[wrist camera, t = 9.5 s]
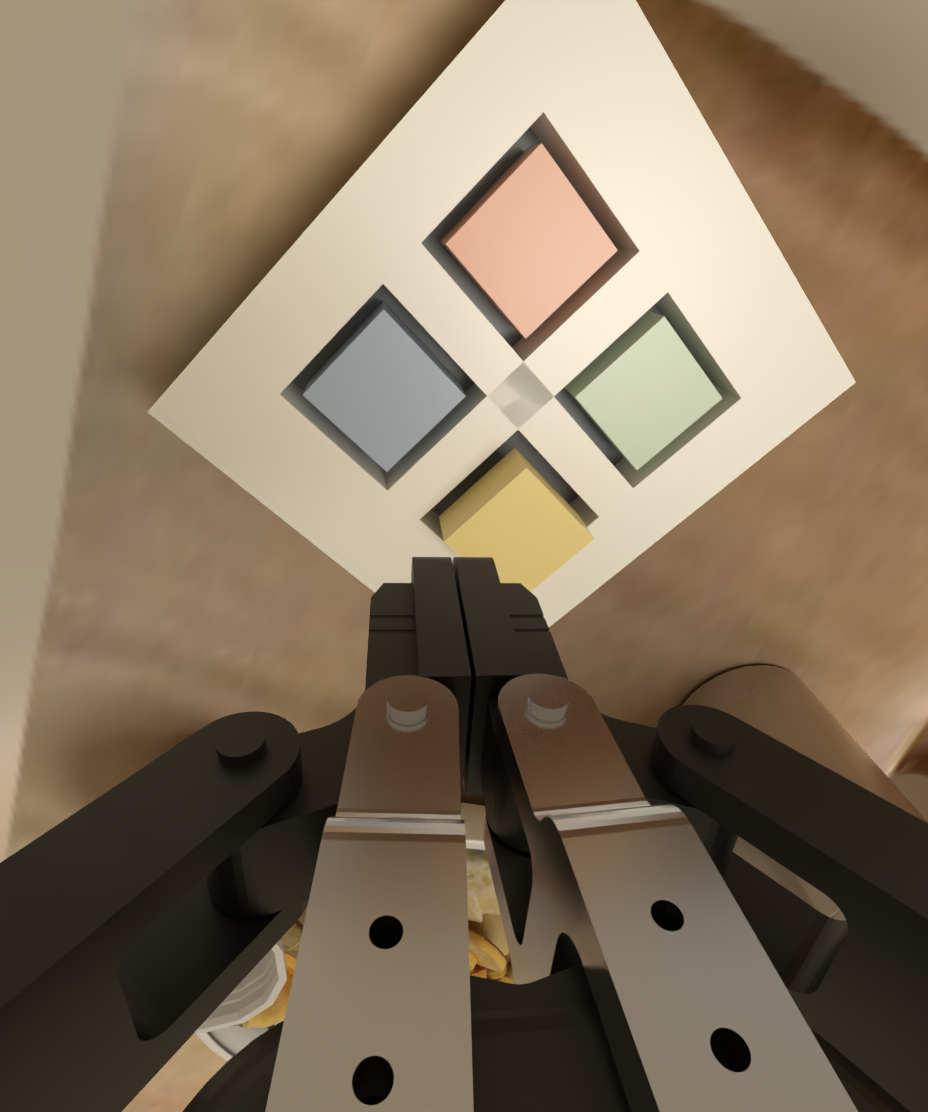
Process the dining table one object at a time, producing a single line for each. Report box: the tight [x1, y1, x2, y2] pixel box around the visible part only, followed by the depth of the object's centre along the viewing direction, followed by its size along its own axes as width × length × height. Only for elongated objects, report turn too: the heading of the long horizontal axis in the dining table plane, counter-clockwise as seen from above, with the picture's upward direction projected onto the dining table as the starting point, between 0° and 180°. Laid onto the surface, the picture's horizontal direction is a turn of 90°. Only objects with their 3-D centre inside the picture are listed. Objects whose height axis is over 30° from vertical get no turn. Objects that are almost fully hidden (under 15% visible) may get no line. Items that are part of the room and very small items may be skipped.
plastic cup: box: [194, 939, 287, 1033], centre depth 33 cm, size 11×11×12 cm
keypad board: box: [148, 0, 855, 628], centre depth 27 cm, size 19×21×4 cm
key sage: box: [564, 310, 723, 470], centre depth 27 cm, size 4×4×2 cm
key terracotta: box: [440, 143, 618, 339], centre depth 24 cm, size 4×4×2 cm
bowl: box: [196, 802, 514, 1062], centre depth 44 cm, size 30×30×8 cm
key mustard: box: [439, 448, 594, 592], centre depth 27 cm, size 4×4×2 cm
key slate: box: [303, 301, 466, 472], centre depth 25 cm, size 4×4×2 cm
